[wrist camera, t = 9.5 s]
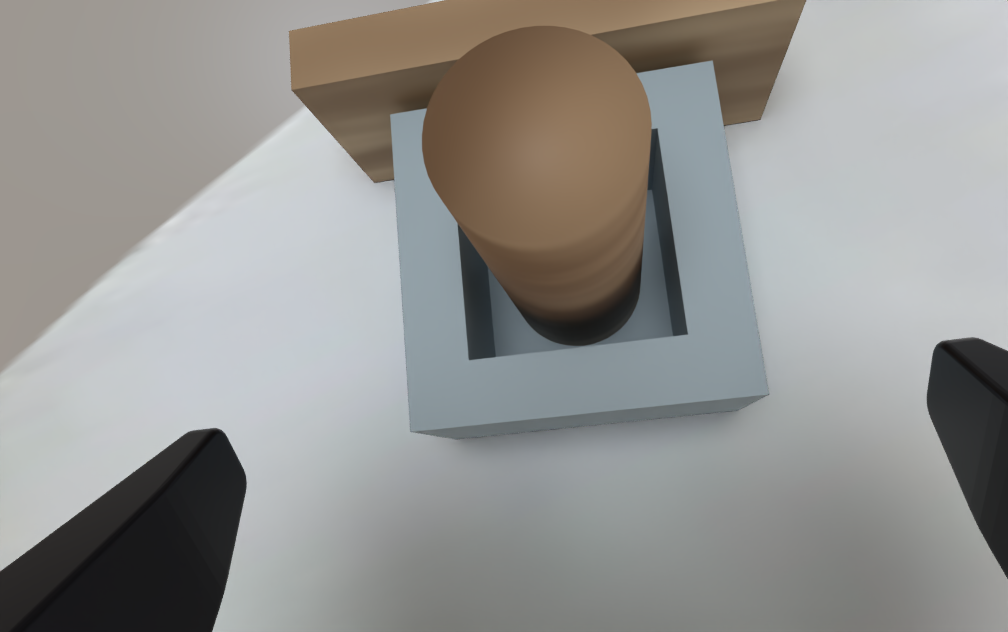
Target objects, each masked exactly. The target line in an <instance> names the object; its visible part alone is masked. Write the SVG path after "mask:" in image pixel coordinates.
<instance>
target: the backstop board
mask: <svg viewBox="0 0 1008 632" xmlns="http://www.w3.org/2000/svg"><path fill="white" fill-rule="evenodd" d="M805 2H806V0H444V1H439V2H434V3H429V4H424V5H419V6H414V7H409V8H404V9H399V10H394V11H388V12H383V13H379V14H373V15H368V16H363V17H358V18H353V19H348V20H343V21H338V22H332V23H327V24H322V25H317V26H312V27H307V28H302V29H297V30H292V31H289V39H290V64H291V88H292V91H293V92H294V93H295V94H296V95H297V96H298V97H299V99H300V100H301V101H302V102H303V103H304V104H305V106H306V107H307V108H308V109H309V110H310V111H311V112H312V113H313V115H314V116H315V117H316V118H317V119H318V120H319V121H320V122H321V124H322V125H323V126H324V127H325V128H326V129H327V130H328V131H329V132H330V134H331V135H332V136H333V137H334V138H335V139H336V140H337V141H338V143H339V144H340V145H341V146H342V147H343V148H344V149H345V150H346V152H347V153H348V154H349V155H350V156H351V157H352V158H353V159H354V161H355V162H356V163H357V164H358V165H359V166H360V167H361V168H362V170H363V171H364V172H365V173H366V174H367V175H368V176H369V177H370V178H371V180H372V181H373V182H374V183H375V182H381V181H387V180H393V179H394V166H393V151H392V135H391V119H390V114H396V113H402V112H408V111H414V110H420V109H426V108H427V107H428V104H429V102H430V99H431V97H432V95H433V93H434V91H435V89H436V87H437V86H438V84H439V82H440V81H441V80H442V78H443V77H444V75H445V74H446V73H447V71H448V70H449V69H450V68H451V67H452V66H453V65H454V64H455V63H456V62H457V61H458V60H459V59H460V58H461V57H462V56H463V55H465V54H466V53H467V52H468V51H470V50H471V49H473V48H474V47H475V46H477V45H478V44H480V43H482V42H484V41H486V40H488V39H490V38H491V37H493V36H496V35H499V34H501V33H504V32H507V31H510V30H514V29H518V28H523V27H531V26H558V27H566V28H570V29H574V30H579V31H581V32H584V33H587V34H589V35H592V36H594V37H596V38H598V39H600V40H601V41H603V42H605V43H607V44H608V45H609V46H611V47H612V48H613V49H615V50H616V51H617V52H618V53H619V54H620V55H621V56H622V57H624V58H625V59H626V60H627V62H628V63H629V64H630V65H631V67H632V68H633V69H634V71H635V72H636V73H641V72H647V71H653V70H659V69H665V68H671V67H677V66H683V65H689V64H695V63H701V62H707V61H713V66H714V72H715V78H716V83H717V89H718V95H719V101H720V107H721V113H722V119H723V125H730V124H736V123H742V122H748V121H754V120H760V119H761V116H762V114H763V111H764V109H765V106H766V104H767V101H768V98H769V96H770V93H771V91H772V88H773V85H774V83H775V80H776V78H777V75H778V72H779V70H780V67H781V65H782V62H783V59H784V57H785V54H786V52H787V49H788V46H789V44H790V41H791V39H792V36H793V33H794V31H795V28H796V26H797V23H798V20H799V18H800V15H801V13H802V10H803V7H804V5H805Z"/></svg>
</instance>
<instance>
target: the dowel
mask: <svg viewBox="0 0 1008 632" xmlns="http://www.w3.org/2000/svg"><path fill="white" fill-rule="evenodd" d="M651 129H652V122H651V110H650V106H649V102H648V98H647V95H646V92H645V90H644V87H643V85H642V83H641V81H640V79H639V77H638V76H637V74H636V72H635V71H634V69H633V68H632V67H631V65H630V64H629V63H628V62H627V60H626V59H625V58H624V57H622V56H621V55H620V54H619V53H618V52H617V51H616V50H615V49H613V48H612V47H611V46H609V45H608V44H607V43H605V42H603V41H601V40H600V39H598V38H596V37H594V36H592V35H589V34H587V33H584V32H581V31H579V30H574V29H570V28H566V27H558V26H531V27H523V28H518V29H514V30H510V31H507V32H504V33H501V34H499V35H496V36H493V37H491V38H490V39H488V40H486V41H484V42H482V43H480V44H478V45H477V46H475V47H474V48H473V49H471V50H470V51H468V52H467V53H466V54H465V55H463V56H462V57H461V58H460V59H459V60H458V61H457V62H456V63H455V64H454V65H453V66H452V67H451V68H450V69H449V70H448V71H447V73H446V74H445V75H444V77H443V78H442V80H441V81H440V82H439V84H438V86H437V87H436V89H435V91H434V93H433V95H432V97H431V99H430V102H429V104H428V107H427V110H426V114H425V118H424V122H423V130H422V152H423V159H424V164H425V167H426V171H427V174H428V177H429V179H430V181H431V183H432V185H433V188H434V189H435V191H436V192H437V194H438V196H439V197H440V199H441V200H442V202H443V203H444V204H445V206H446V207H447V209H448V210H449V212H450V213H451V214H452V216H453V217H454V219H455V220H456V222H457V223H458V224H459V226H460V227H461V229H462V230H463V232H464V233H465V234H466V236H467V237H468V239H469V240H470V242H471V243H472V245H473V246H474V247H475V249H476V250H477V252H478V253H479V255H480V256H481V257H482V259H483V260H484V262H485V263H486V265H487V266H488V267H489V269H490V270H491V272H492V273H493V275H494V276H495V277H496V279H497V280H498V282H499V283H500V285H501V286H502V287H503V289H504V290H505V292H506V293H507V295H508V296H509V297H510V299H511V300H512V302H513V303H514V305H515V306H516V308H517V309H518V310H519V312H520V313H521V315H522V316H523V318H524V319H525V320H526V322H527V323H528V324H529V325H530V326H531V328H532V329H534V330H535V331H536V332H537V333H538V334H540V335H541V336H543V337H544V338H546V339H548V340H550V341H552V342H555V343H558V344H562V345H567V346H585V345H590V344H594V343H597V342H600V341H603V340H605V339H607V338H609V337H610V336H612V335H613V334H615V333H616V332H617V331H618V330H620V329H621V328H622V327H623V326H624V325H625V323H626V322H627V321H628V320H629V318H630V317H631V315H632V314H633V312H634V310H635V308H636V305H637V302H638V299H639V294H640V284H641V270H642V256H643V242H644V228H645V214H646V200H647V186H648V172H649V158H650V144H651Z"/></svg>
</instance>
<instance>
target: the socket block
mask: <svg viewBox="0 0 1008 632" xmlns="http://www.w3.org/2000/svg"><path fill="white" fill-rule="evenodd" d="M636 74H637V76H638V77H639V79H640V81H641V83H642V85H643V87H644V90H645V92H646V95H647V98H648V102H649V106H650V110H651V122H652V129H651V144H650V158H649V172H648V186H647V200H646V214H645V228H644V242H643V256H642V270H641V284H640V294H639V299H638V302H637V305H636V308H635V310H634V312H633V314H632V315H631V317H630V318H629V320H628V321H627V322H626V323H625V325H624V326H623V327H622V328H621V329H620V330H618V331H617V332H616V333H615V334H613V335H612V336H610V337H609V338H607V339H605V340H603V341H600V342H597V343H594V344H590V345H585V346H567V345H562V344H558V343H555V342H552V341H550V340H548V339H546V338H544V337H543V336H541V335H540V334H538V333H537V332H536V331H535V330H534V329H532V328H531V326H530V325H529V324H528V323H527V322H526V320H525V319H524V318H523V316H522V315H521V313H520V312H519V310H518V309H517V308H516V306H515V305H514V303H513V302H512V300H511V299H510V297H509V296H508V295H507V293H506V292H505V290H504V289H503V287H502V286H501V285H500V283H499V282H498V280H497V279H496V277H495V276H494V275H493V273H492V272H491V270H490V269H489V267H488V266H487V265H486V263H485V262H484V260H483V259H482V257H481V256H480V255H479V253H478V252H477V250H476V249H475V247H474V246H473V245H472V243H471V242H470V240H469V239H468V237H467V236H466V234H465V233H464V232H463V230H462V229H461V227H460V226H459V224H458V223H457V222H456V220H455V219H454V217H453V216H452V214H451V213H450V212H449V210H448V209H447V207H446V206H445V204H444V203H443V202H442V200H441V199H440V197H439V196H438V194H437V192H436V191H435V189H434V188H433V185H432V183H431V181H430V179H429V177H428V174H427V171H426V167H425V164H424V159H423V152H422V130H423V122H424V118H425V114H426V110H427V108H426V109H420V110H414V111H408V112H402V113H396V114H390V119H391V135H392V151H393V166H394V182H395V198H396V214H397V229H398V245H399V261H400V276H401V292H402V308H403V323H404V339H405V355H406V370H407V386H408V402H409V417H410V432H414V433H420V434H426V435H433V436H439V437H445V438H452V439H464V438H474V437H484V436H494V435H503V434H513V433H523V432H533V431H542V430H552V429H562V428H572V427H582V426H591V425H601V424H611V423H621V422H630V421H640V420H650V419H660V418H670V417H679V416H689V415H699V414H709V413H718V412H728V411H737V410H739V409H741V408H743V407H745V406H747V405H749V404H751V403H753V402H755V401H757V400H759V399H761V398H763V397H765V396H767V395H769V391H768V385H767V379H766V373H765V367H764V361H763V355H762V349H761V344H760V338H759V332H758V326H757V320H756V314H755V308H754V302H753V296H752V290H751V284H750V279H749V273H748V267H747V261H746V255H745V249H744V243H743V237H742V231H741V225H740V219H739V213H738V208H737V202H736V196H735V190H734V184H733V178H732V172H731V166H730V160H729V154H728V148H727V143H726V137H725V131H724V125H723V119H722V113H721V107H720V101H719V95H718V89H717V83H716V78H715V72H714V66H713V61H707V62H701V63H695V64H689V65H683V66H677V67H671V68H665V69H659V70H653V71H647V72H641V73H636Z"/></svg>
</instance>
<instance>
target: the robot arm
mask: <svg viewBox="0 0 1008 632" xmlns="http://www.w3.org/2000/svg"><path fill="white" fill-rule="evenodd" d="M927 407H928V411H929V415H930V418H931V420H932V422H933V425H934V427H935V429H936V432H937V434H938V436H939V438H940V441H941V443H942V445H943V448H944V450H945V452H946V455H947V457H948V459H949V462H950V464H951V466H952V469H953V471H954V473H955V476H956V478H957V480H958V483H959V485H960V487H961V490H962V492H963V494H964V496H965V499H966V501H967V503H968V506H969V508H970V510H971V512H972V515H973V517H974V519H975V521H976V523H977V525H978V527H979V529H980V531H981V533H982V535H983V537H984V538H985V540H986V542H987V544H988V546H989V547H990V549H991V551H992V553H993V554H994V556H995V558H996V560H997V561H998V563H999V565H1000V566H1001V568H1002V570H1003V572H1004V573H1005V575H1006V577H1007V578H1008V351H1007V350H1004V349H1002V348H1000V347H998V346H995V345H993V344H991V343H988V342H986V341H984V340H981V339H979V338H973V337H971V338H962V339H954V340H946V341H941V342H940V343H938V344H937V345H936V347H935V349H934V351H933V356H932V363H931V370H930V377H929V383H928V390H927ZM246 485H247V482H246V475H245V472H244V469H243V467H242V465H241V463H240V461H239V459H238V457H237V455H236V453H235V451H234V449H233V448H232V446H231V444H230V442H229V440H228V438H227V436H226V434H225V433H224V432H223V431H222V430H220V429H217V428H210V429H202V430H194V431H190V432H188V433H186V434H185V435H183V436H182V437H181V438H179V439H178V440H176V441H175V442H174V443H172V444H171V445H170V446H168V447H167V448H166V449H164V450H163V451H162V452H160V453H159V454H158V455H156V456H155V457H154V458H152V459H151V460H150V461H148V462H147V463H146V464H144V465H143V466H142V467H140V468H139V469H137V470H136V471H135V472H133V473H132V474H131V475H129V476H128V477H127V478H125V479H124V480H123V481H121V482H120V483H119V484H117V485H116V486H115V487H113V488H112V489H111V490H109V491H108V492H107V493H105V494H104V495H103V496H101V497H100V498H98V499H97V500H96V501H94V502H93V503H92V504H90V505H89V506H88V507H86V508H85V509H84V510H82V511H81V512H80V513H78V514H77V515H76V516H74V517H73V518H72V519H70V520H69V521H68V522H66V523H65V524H64V525H62V526H61V527H59V528H58V529H57V530H55V531H54V532H53V533H51V534H50V535H49V536H47V537H46V538H45V539H43V540H42V541H41V542H39V543H38V544H37V545H35V546H34V547H33V548H31V549H30V550H29V551H27V552H26V553H25V554H23V555H22V556H20V557H19V558H18V559H16V560H15V561H14V562H12V563H11V564H10V565H8V566H7V567H6V568H4V569H3V570H2V571H0V632H212V630H213V627H214V624H215V621H216V618H217V615H218V611H219V608H220V605H221V601H222V598H223V595H224V591H225V587H226V583H227V579H228V575H229V570H230V565H231V560H232V555H233V551H234V546H235V541H236V536H237V532H238V527H239V522H240V517H241V512H242V508H243V503H244V498H245V493H246Z"/></svg>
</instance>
